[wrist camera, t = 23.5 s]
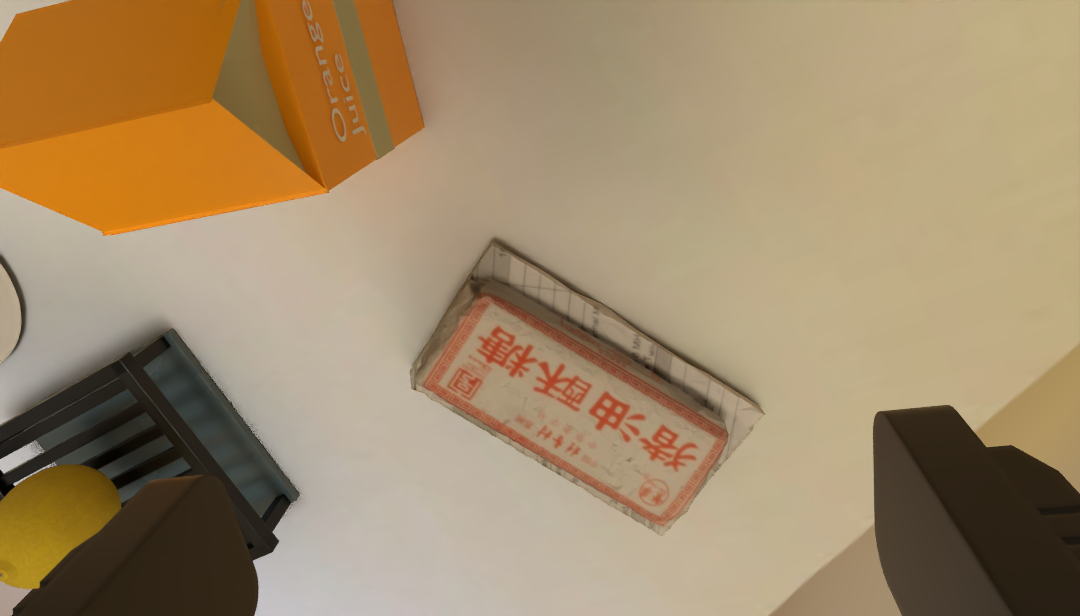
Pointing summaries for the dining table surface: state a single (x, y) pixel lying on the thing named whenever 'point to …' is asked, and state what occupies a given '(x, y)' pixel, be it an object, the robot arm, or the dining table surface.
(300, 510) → the dining table surface
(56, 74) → the orange juice
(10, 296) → the teacup
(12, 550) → the lemon
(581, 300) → the packaged product
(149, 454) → the dish rack
